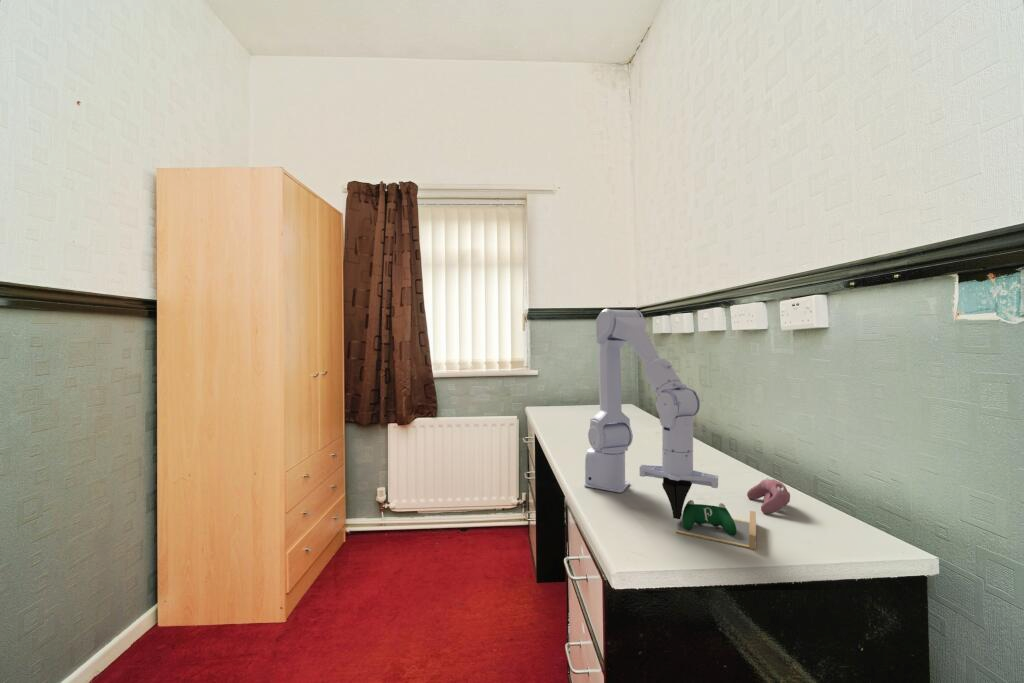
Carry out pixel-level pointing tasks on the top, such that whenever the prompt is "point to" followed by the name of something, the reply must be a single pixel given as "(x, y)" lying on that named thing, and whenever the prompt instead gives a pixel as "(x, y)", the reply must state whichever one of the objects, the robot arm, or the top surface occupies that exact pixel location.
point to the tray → (717, 533)
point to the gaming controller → (708, 516)
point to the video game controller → (770, 495)
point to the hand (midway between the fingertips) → (677, 517)
